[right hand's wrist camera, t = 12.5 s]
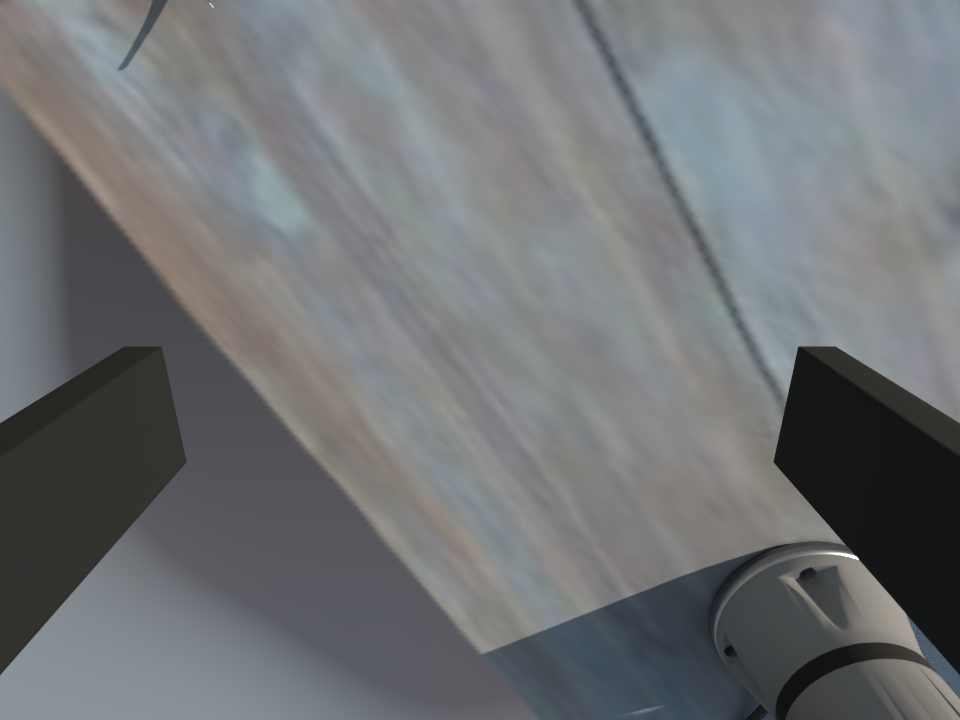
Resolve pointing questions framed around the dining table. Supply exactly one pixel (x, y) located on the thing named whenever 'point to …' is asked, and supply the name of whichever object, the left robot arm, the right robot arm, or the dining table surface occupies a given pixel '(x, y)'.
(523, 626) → the dining table surface
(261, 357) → the dining table surface
